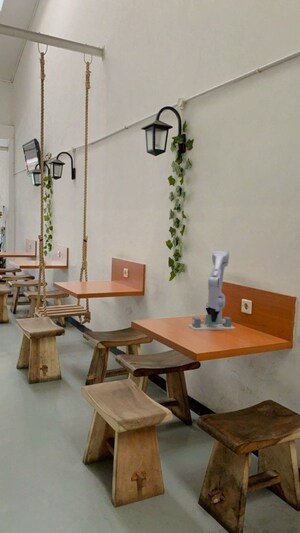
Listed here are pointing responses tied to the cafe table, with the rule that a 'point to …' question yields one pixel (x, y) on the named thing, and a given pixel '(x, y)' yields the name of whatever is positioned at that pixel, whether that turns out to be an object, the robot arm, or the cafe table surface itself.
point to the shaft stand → (197, 325)
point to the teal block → (209, 321)
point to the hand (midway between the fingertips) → (212, 321)
